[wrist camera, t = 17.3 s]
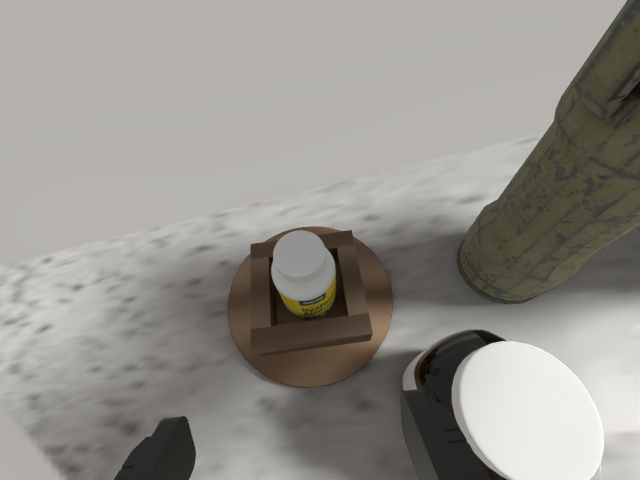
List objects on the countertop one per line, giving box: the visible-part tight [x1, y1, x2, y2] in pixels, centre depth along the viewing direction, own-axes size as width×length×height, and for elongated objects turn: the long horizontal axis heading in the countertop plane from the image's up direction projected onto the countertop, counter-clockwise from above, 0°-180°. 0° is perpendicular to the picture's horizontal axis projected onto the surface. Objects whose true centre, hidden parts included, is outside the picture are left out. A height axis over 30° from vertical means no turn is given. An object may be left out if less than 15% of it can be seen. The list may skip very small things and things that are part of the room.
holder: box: [228, 227, 393, 387], centre depth 30 cm, size 17×17×4 cm
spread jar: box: [403, 329, 604, 480], centre depth 20 cm, size 12×11×12 cm
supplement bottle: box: [271, 230, 336, 321], centre depth 26 cm, size 5×5×10 cm
